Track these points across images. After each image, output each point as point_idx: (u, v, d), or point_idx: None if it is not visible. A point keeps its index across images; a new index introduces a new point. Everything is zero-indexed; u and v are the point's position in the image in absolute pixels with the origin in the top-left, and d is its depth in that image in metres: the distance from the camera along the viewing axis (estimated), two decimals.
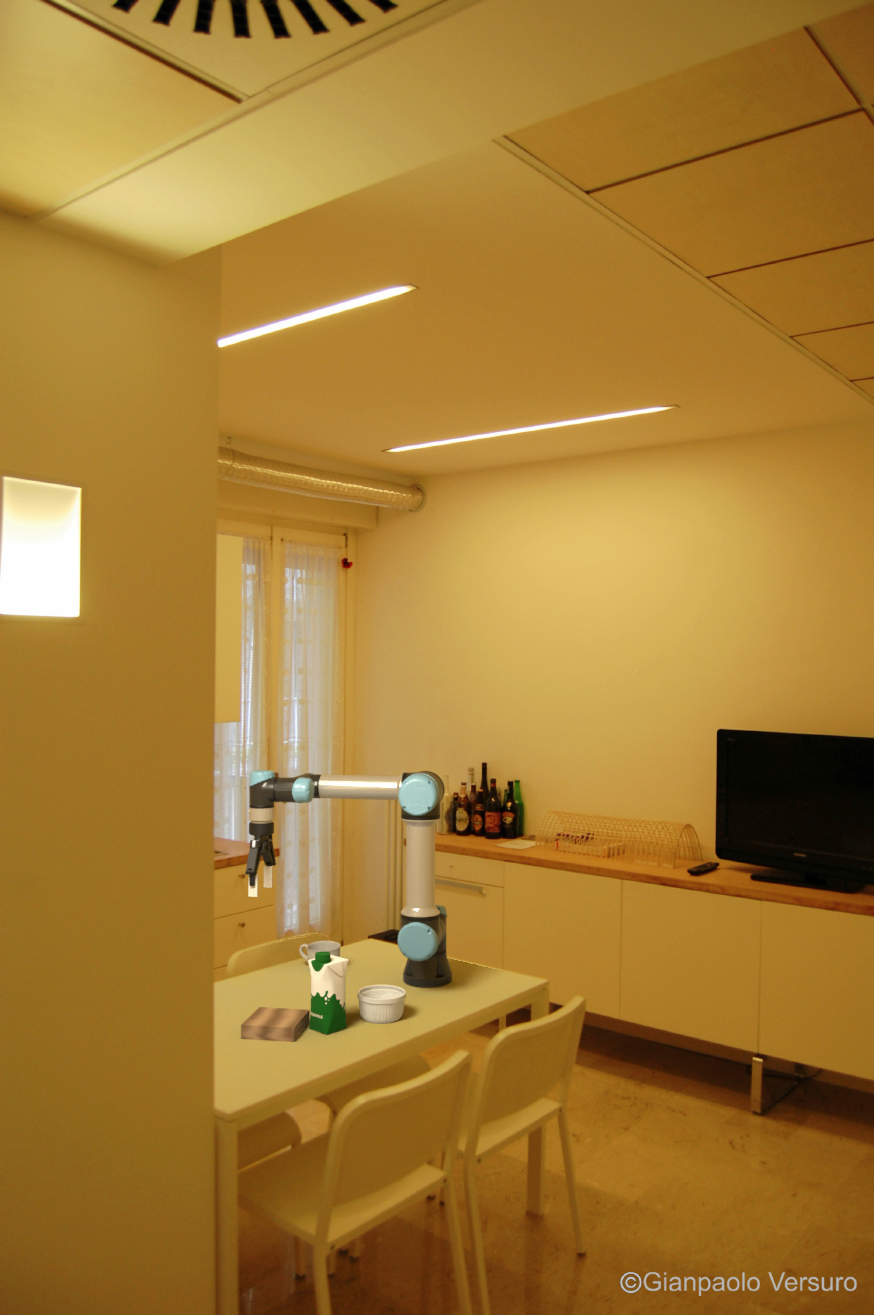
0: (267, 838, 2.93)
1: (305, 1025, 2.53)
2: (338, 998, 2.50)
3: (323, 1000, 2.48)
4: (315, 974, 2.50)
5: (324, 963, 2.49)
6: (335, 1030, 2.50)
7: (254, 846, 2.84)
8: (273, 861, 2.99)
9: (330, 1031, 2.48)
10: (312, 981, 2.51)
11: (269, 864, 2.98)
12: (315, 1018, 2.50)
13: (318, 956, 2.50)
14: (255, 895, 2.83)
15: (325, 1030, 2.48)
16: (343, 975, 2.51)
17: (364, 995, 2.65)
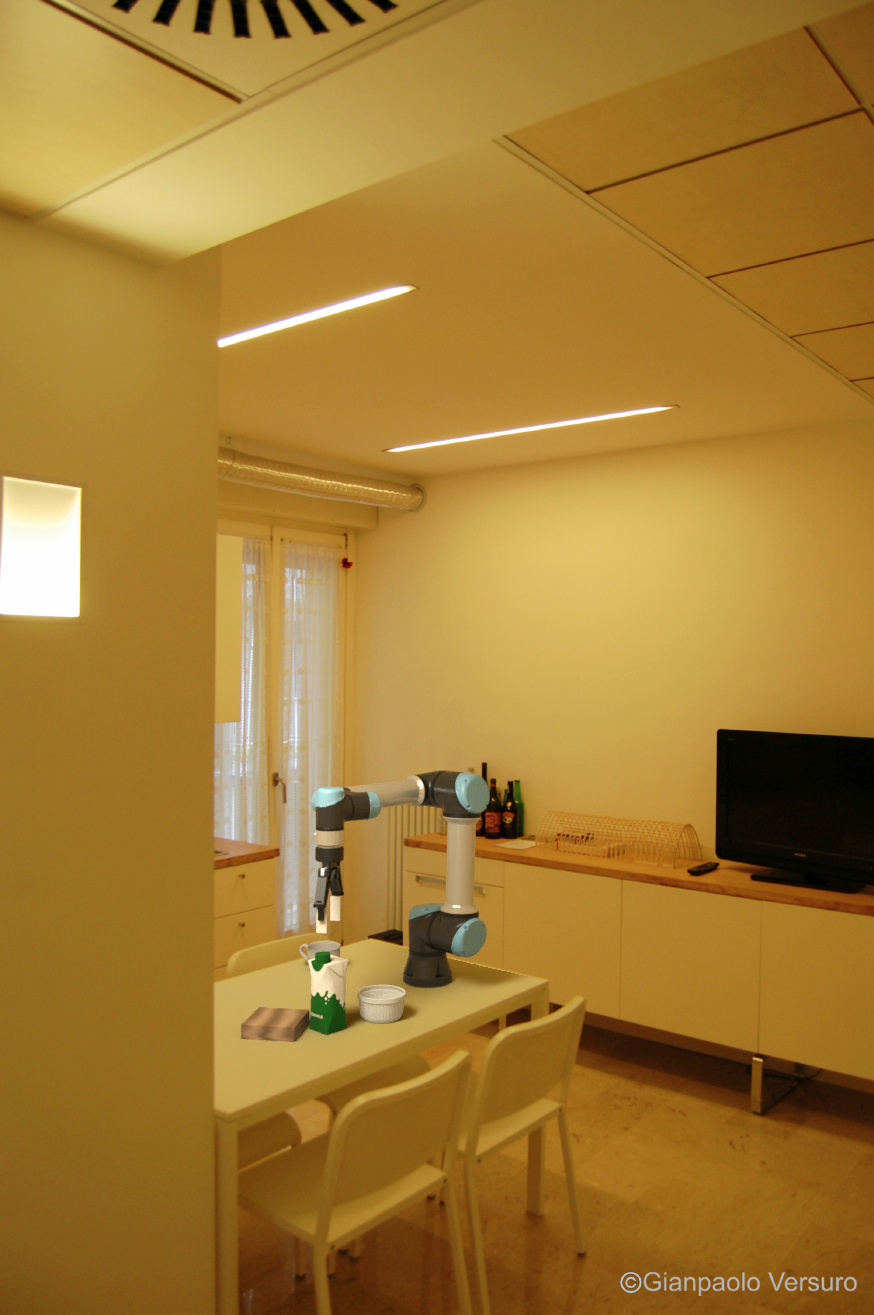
0: (335, 865, 2.56)
1: (305, 1025, 2.53)
2: (338, 998, 2.50)
3: (323, 1000, 2.48)
4: (315, 974, 2.50)
5: (324, 963, 2.49)
6: (335, 1030, 2.50)
7: (323, 875, 2.47)
8: (341, 890, 2.62)
9: (330, 1031, 2.48)
10: (312, 981, 2.51)
11: (336, 894, 2.61)
12: (315, 1018, 2.50)
13: (318, 956, 2.50)
14: (324, 931, 2.46)
15: (325, 1030, 2.48)
16: (343, 975, 2.51)
17: (364, 995, 2.65)
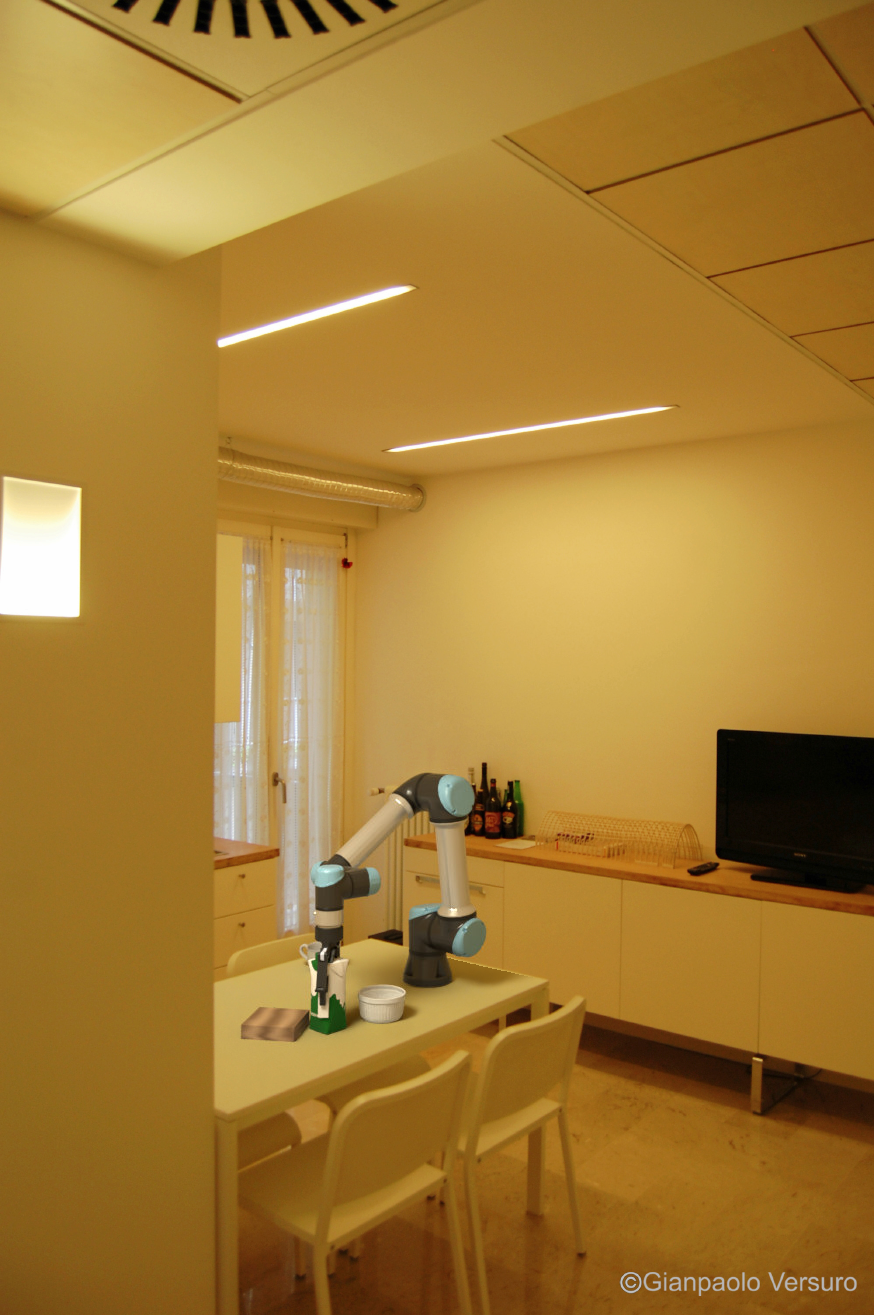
0: (335, 943, 2.56)
1: (305, 1025, 2.53)
2: (338, 998, 2.50)
3: None
4: (315, 974, 2.50)
5: None
6: (335, 1030, 2.50)
7: (323, 959, 2.47)
8: None
9: (330, 1031, 2.48)
10: (312, 981, 2.51)
11: None
12: (315, 1018, 2.50)
13: None
14: (326, 1016, 2.47)
15: (325, 1030, 2.48)
16: (343, 975, 2.51)
17: (364, 995, 2.65)
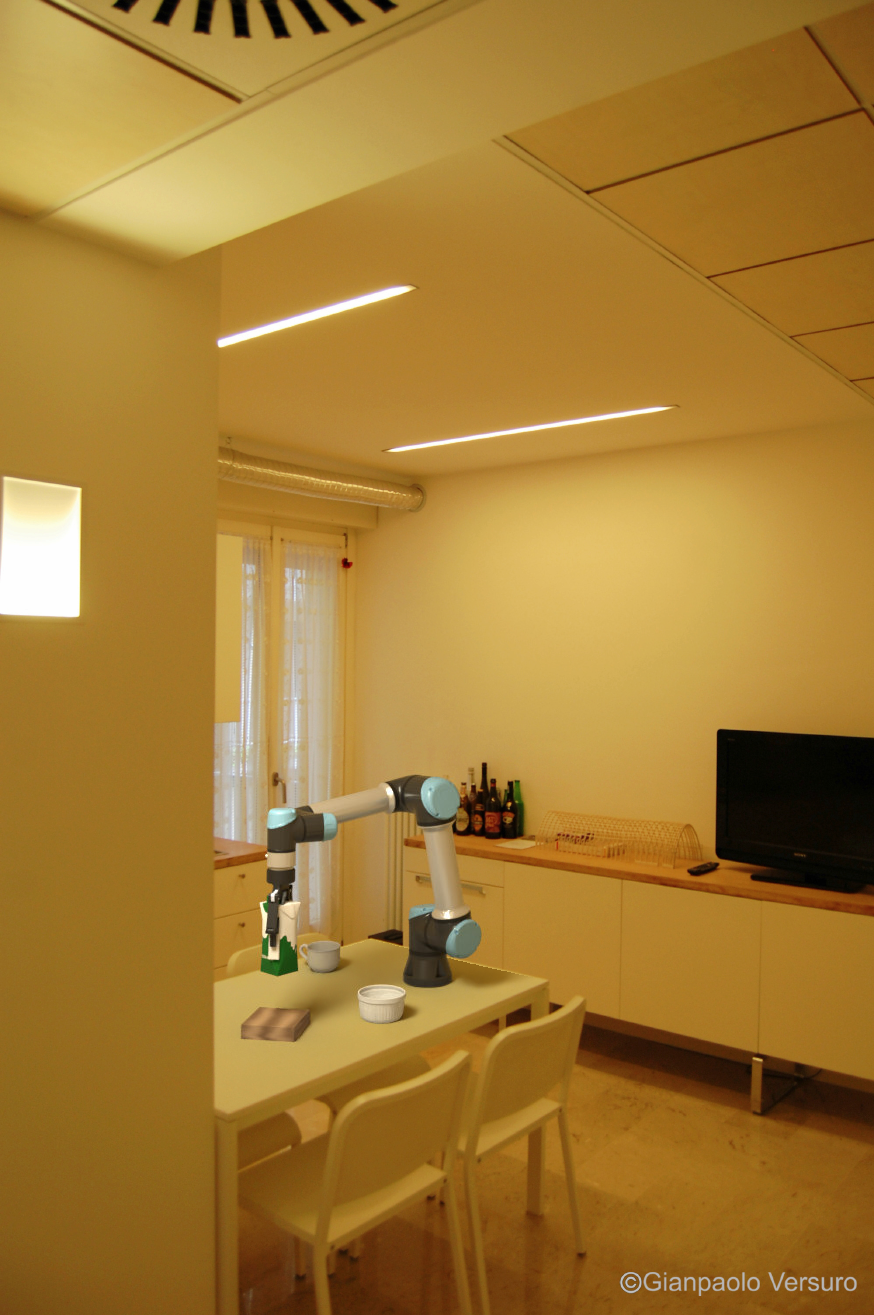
0: (287, 886, 2.54)
1: (305, 1025, 2.53)
2: (289, 940, 2.48)
3: None
4: (266, 916, 2.49)
5: None
6: (286, 972, 2.48)
7: (273, 901, 2.45)
8: None
9: (281, 973, 2.47)
10: (263, 923, 2.49)
11: None
12: (266, 960, 2.48)
13: None
14: (276, 958, 2.46)
15: (275, 972, 2.46)
16: (294, 917, 2.50)
17: (364, 995, 2.65)
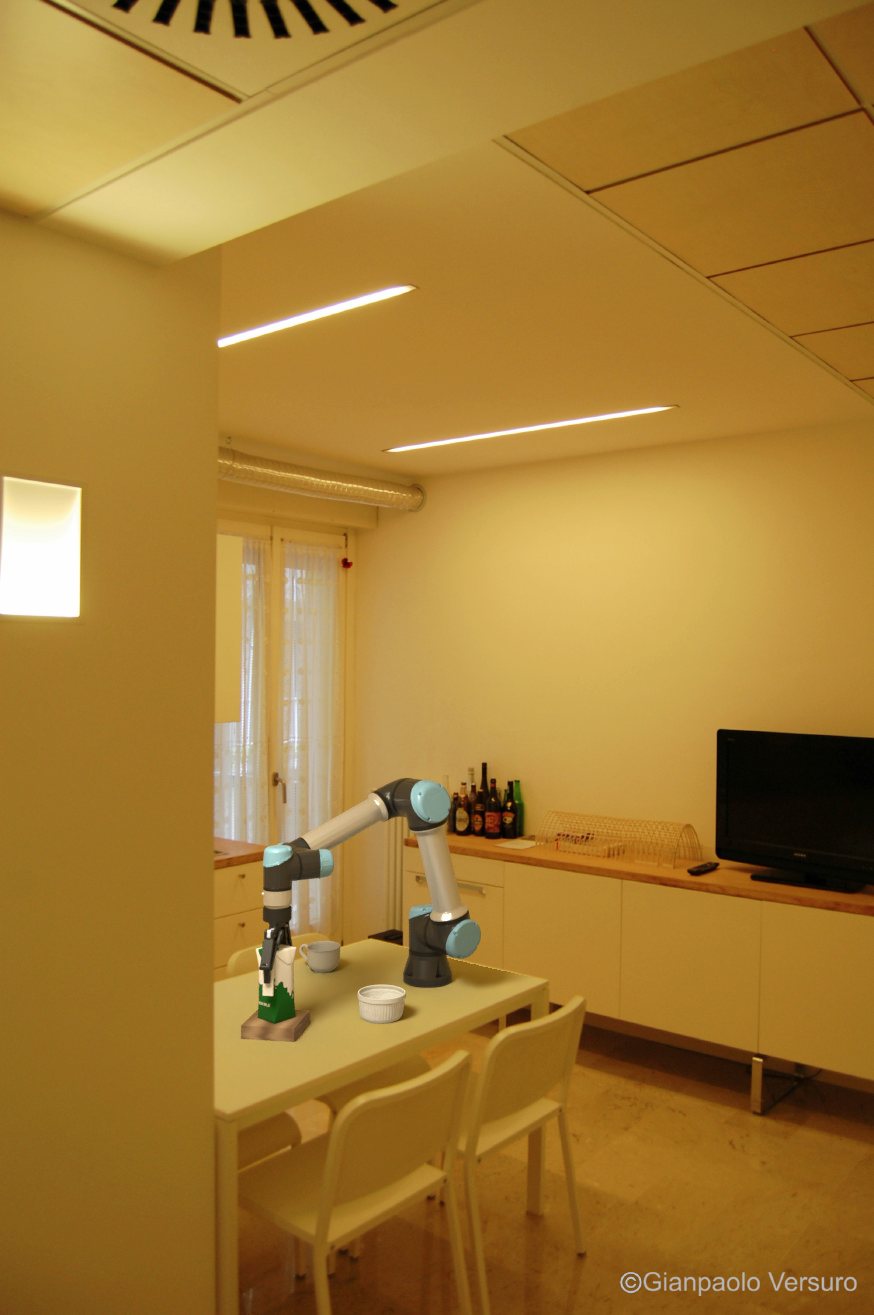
0: (284, 924, 2.54)
1: (305, 1026, 2.53)
2: (286, 986, 2.48)
3: None
4: None
5: None
6: (283, 1018, 2.48)
7: (269, 937, 2.45)
8: None
9: (278, 1019, 2.47)
10: None
11: None
12: (262, 1007, 2.48)
13: None
14: (270, 994, 2.44)
15: (272, 1018, 2.46)
16: (291, 963, 2.50)
17: (364, 995, 2.65)
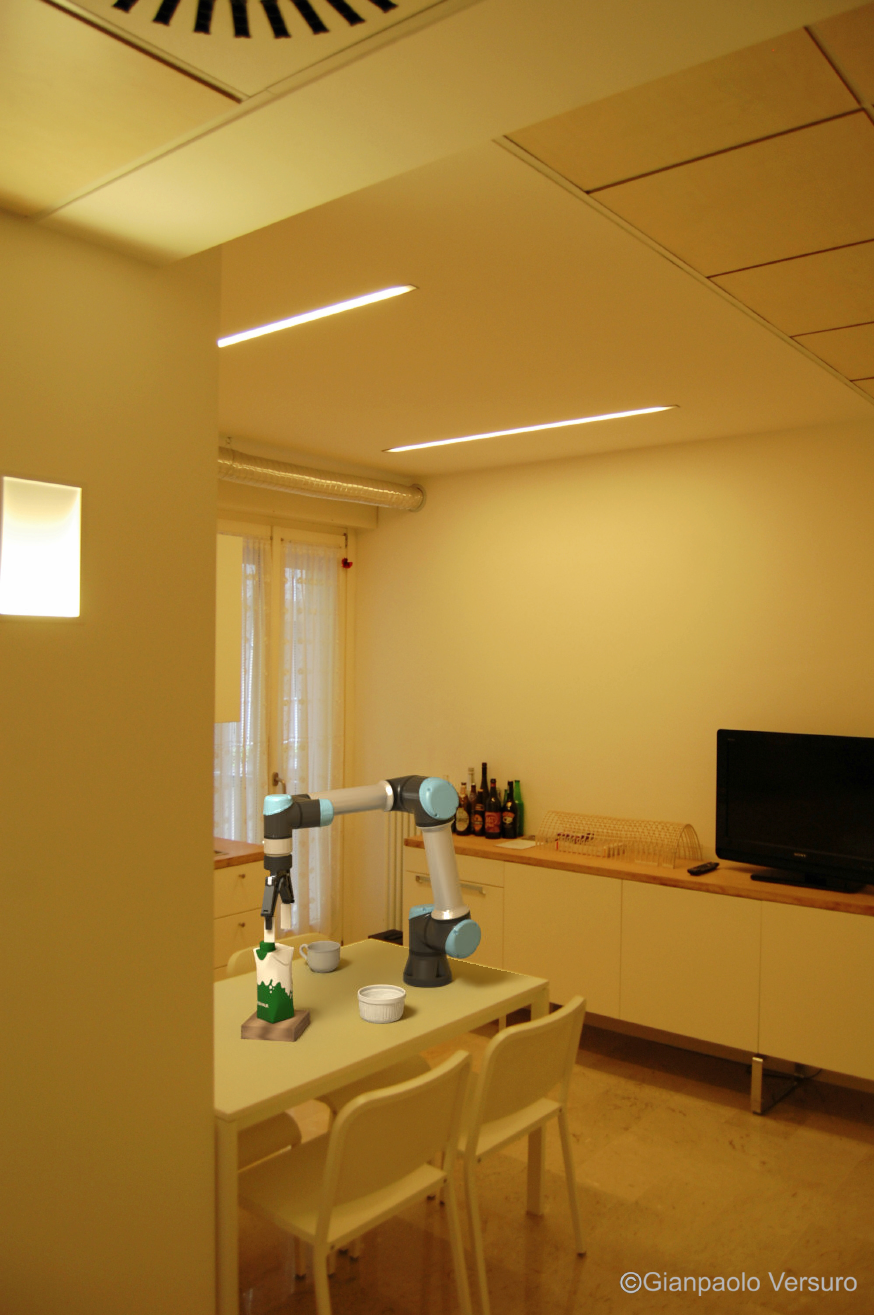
0: (284, 873, 2.54)
1: (305, 1026, 2.53)
2: (283, 986, 2.48)
3: (267, 988, 2.46)
4: (259, 963, 2.48)
5: (268, 952, 2.47)
6: (282, 1018, 2.48)
7: (270, 884, 2.45)
8: None
9: (276, 1019, 2.47)
10: (257, 970, 2.49)
11: (287, 902, 2.59)
12: (261, 1007, 2.48)
13: (262, 945, 2.48)
14: (272, 940, 2.44)
15: (270, 1019, 2.46)
16: (288, 963, 2.49)
17: (364, 995, 2.65)
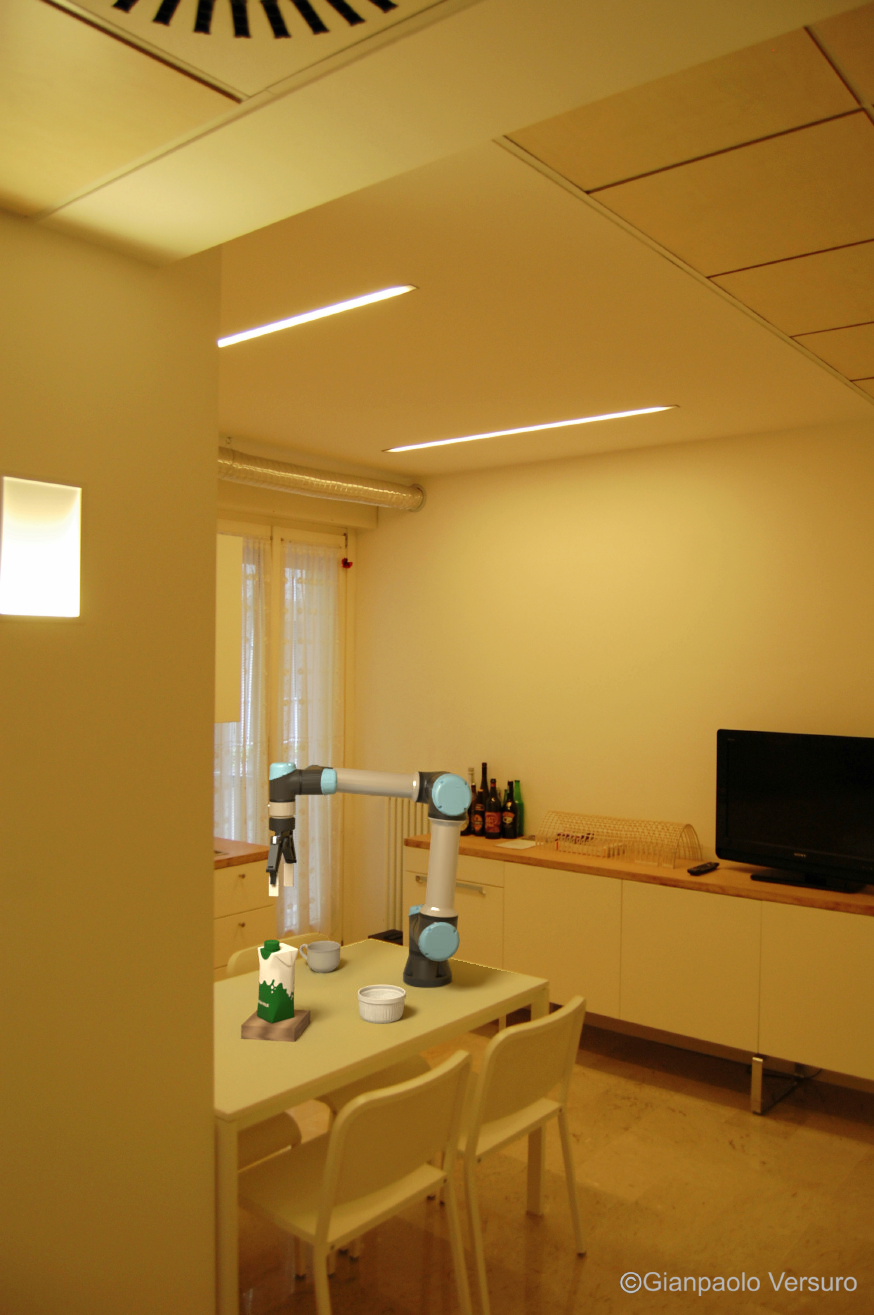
0: (288, 834, 2.77)
1: (305, 1026, 2.53)
2: (285, 987, 2.48)
3: (269, 988, 2.47)
4: (263, 962, 2.48)
5: (272, 952, 2.47)
6: (281, 1019, 2.48)
7: (275, 842, 2.68)
8: None
9: (276, 1020, 2.47)
10: (260, 969, 2.49)
11: (290, 862, 2.81)
12: (261, 1006, 2.48)
13: (266, 944, 2.48)
14: (276, 894, 2.67)
15: (270, 1019, 2.46)
16: (291, 964, 2.49)
17: (364, 995, 2.65)
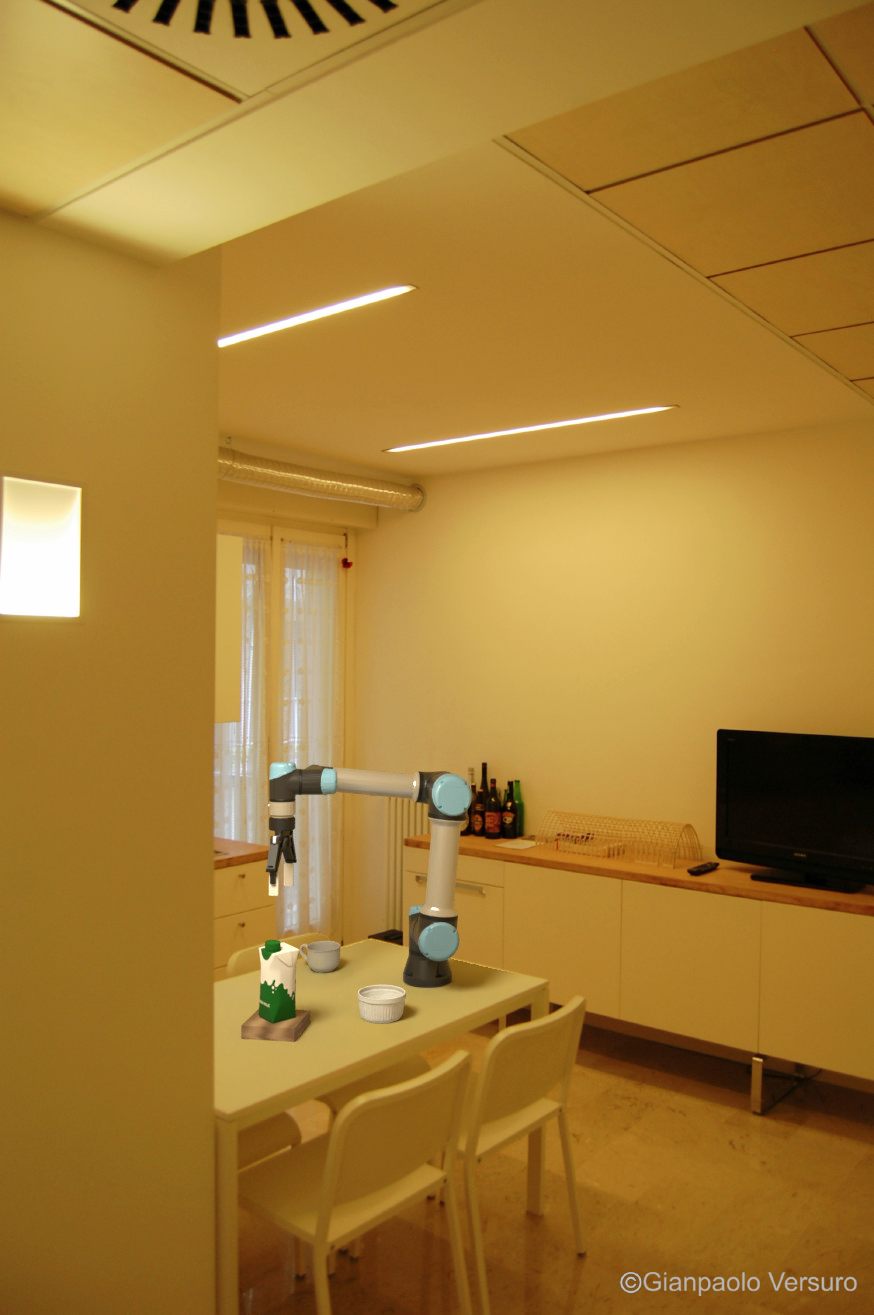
0: (288, 834, 2.77)
1: (305, 1026, 2.53)
2: (286, 988, 2.47)
3: (270, 988, 2.46)
4: (263, 962, 2.48)
5: (272, 952, 2.47)
6: (282, 1019, 2.48)
7: (275, 842, 2.68)
8: (294, 858, 2.83)
9: (277, 1020, 2.47)
10: (261, 969, 2.49)
11: (290, 861, 2.82)
12: (263, 1006, 2.48)
13: (267, 945, 2.48)
14: (276, 894, 2.67)
15: (271, 1019, 2.46)
16: (292, 965, 2.49)
17: (364, 995, 2.65)
